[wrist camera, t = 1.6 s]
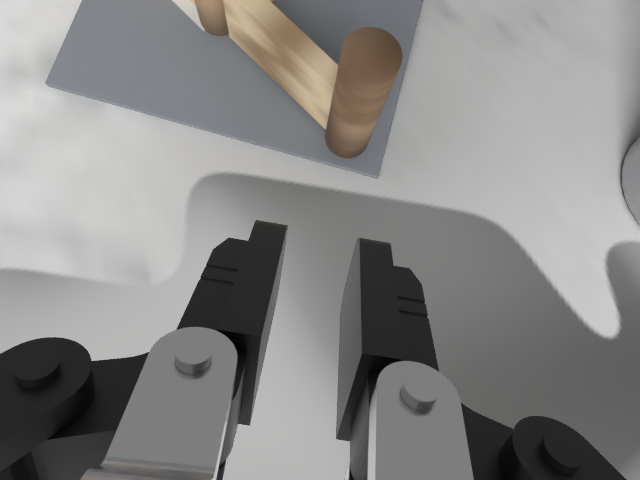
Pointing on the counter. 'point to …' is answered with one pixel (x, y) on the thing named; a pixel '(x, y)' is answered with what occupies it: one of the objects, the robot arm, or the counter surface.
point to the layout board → (221, 68)
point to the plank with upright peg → (321, 70)
